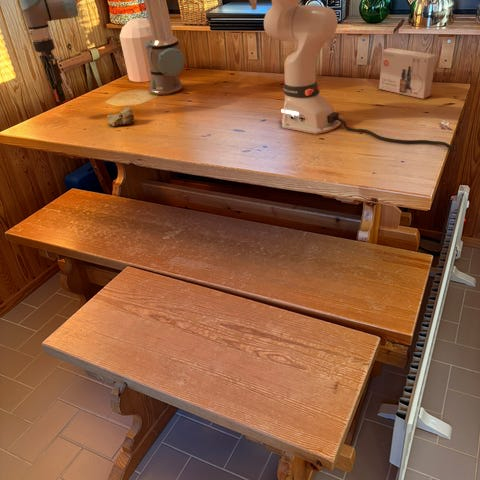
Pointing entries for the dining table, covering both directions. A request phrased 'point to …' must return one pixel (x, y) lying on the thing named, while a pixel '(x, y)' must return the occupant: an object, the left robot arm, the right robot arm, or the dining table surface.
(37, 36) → the left robot arm
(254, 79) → the dining table surface
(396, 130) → the dining table surface
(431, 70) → the skincare box
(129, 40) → the container
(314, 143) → the dining table surface
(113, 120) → the rock
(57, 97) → the can
